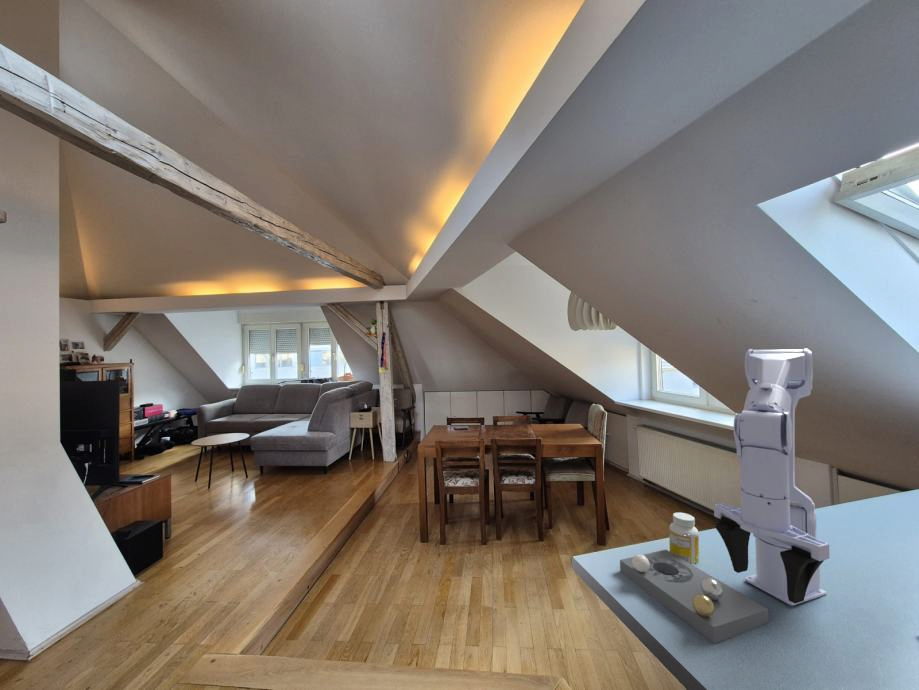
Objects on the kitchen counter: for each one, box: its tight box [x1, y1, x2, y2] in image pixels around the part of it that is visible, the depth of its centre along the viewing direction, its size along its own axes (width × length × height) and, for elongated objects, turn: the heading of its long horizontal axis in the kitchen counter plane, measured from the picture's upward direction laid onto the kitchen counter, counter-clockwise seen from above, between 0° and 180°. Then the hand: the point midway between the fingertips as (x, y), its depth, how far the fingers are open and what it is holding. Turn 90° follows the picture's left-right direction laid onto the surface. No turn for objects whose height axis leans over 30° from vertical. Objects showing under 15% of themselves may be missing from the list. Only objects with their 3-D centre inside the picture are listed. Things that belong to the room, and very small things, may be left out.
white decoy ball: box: [632, 553, 650, 572], centre depth 73 cm, size 3×3×3 cm
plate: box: [619, 549, 770, 644], centre depth 69 cm, size 12×20×2 cm, turn 19°
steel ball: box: [701, 578, 723, 600], centre depth 65 cm, size 3×3×3 cm
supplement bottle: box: [668, 512, 700, 565], centre depth 81 cm, size 5×5×10 cm
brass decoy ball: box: [692, 594, 715, 617], centre depth 61 cm, size 3×3×3 cm
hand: (766, 584), depth 56 cm, fingers open, 7 cm apart
